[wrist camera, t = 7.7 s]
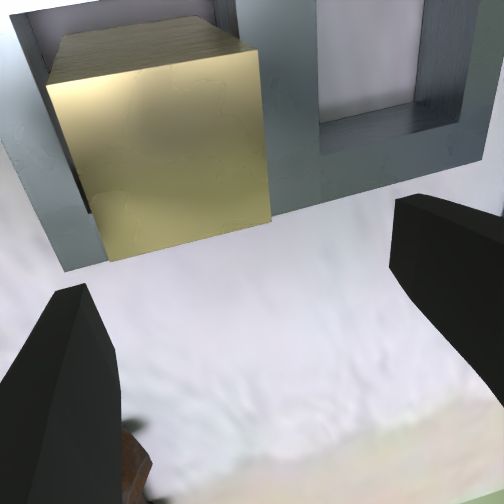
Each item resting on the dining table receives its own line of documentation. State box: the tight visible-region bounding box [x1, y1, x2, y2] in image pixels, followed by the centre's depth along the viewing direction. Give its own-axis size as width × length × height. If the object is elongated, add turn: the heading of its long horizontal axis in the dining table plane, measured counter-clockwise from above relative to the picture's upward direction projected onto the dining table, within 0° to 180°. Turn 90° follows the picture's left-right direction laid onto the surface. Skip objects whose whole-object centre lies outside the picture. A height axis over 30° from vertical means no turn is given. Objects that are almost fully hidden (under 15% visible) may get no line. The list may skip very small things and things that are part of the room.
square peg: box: [46, 15, 272, 262], centre depth 13 cm, size 4×4×7 cm
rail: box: [0, 0, 504, 272], centre depth 15 cm, size 18×10×3 cm, turn 96°
